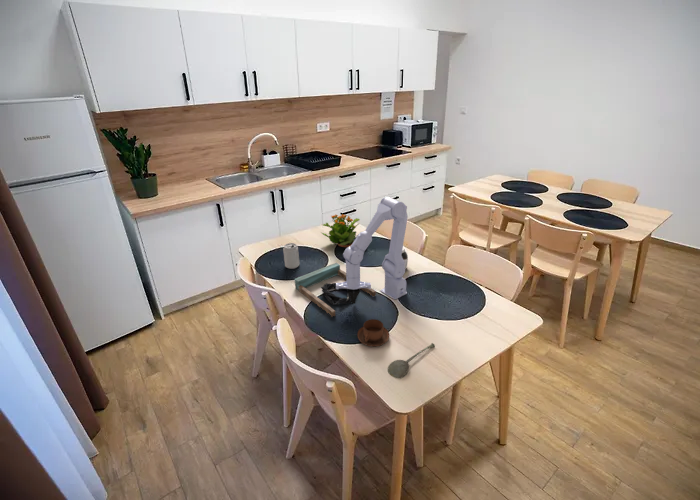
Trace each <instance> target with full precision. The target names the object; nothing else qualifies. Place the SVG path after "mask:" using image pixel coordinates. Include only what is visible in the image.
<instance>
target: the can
mask: <svg viewBox="0 0 700 500" xmlns="http://www.w3.org/2000/svg"><path fill="white" fill-rule="evenodd" d="M282 249H283V250H282V252H283V261H284V267H285V268H287V269H290V270H293V269H296V268H298V267H299V266H300V256H299V254H300V253H299V246H298V245H297V244H296V243H293V242H289V243H286V244H285V245H283V248H282Z"/></svg>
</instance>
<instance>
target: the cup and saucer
mask: <svg viewBox="0 0 700 500" xmlns="http://www.w3.org/2000/svg"><path fill="white" fill-rule="evenodd" d="M356 335H357V339H358V341H359V342H360V343H361V344H363V345H365V346H369V347H379V346H382V345H384V344H386V343H387V342H388V341H389V339H390V332H389V330H388V329H387V328H386V327H385V326H384V323H383V322H382V321H381V320H379V319H375V318H374V319H373V318H370V319H368V320H366V321H364V323H363V326H362V327H360V328H359V329H358V330H357V334H356Z"/></svg>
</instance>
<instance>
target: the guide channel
mask: <svg viewBox="0 0 700 500" xmlns="http://www.w3.org/2000/svg"><path fill="white" fill-rule="evenodd" d="M336 276H340V277H341V278H342V279H344V280H346V271H344V270H342V269H341V264H339V263H338V262H334V263H331V264H329V265H327V266H324V267H322V268H319V269H316V270H314V271H312V272H311V271H310V272H309V273H307V274H303V275H301V276H298V277H297V278H296V277H295V278H294V284H295V285H294V286H295V289H296V290H297V291H299V293H301V294H303V296H305V297H306V298H307V299H308V300H310V301H311V302H312V303H314V304H315V305H316V304H317V306H318V307H319V308H320V307H321V308H322V311H324V310H325V311H326V312H325V311H324V312H325V313H327V314H328V313H329V314H330V315H331V316H330V315H329V314H328V315H329V316H330V317H331V318H333V316H334V317H335V316H336V310H334V308H332V306H330V305H329V304H327V303H326V302H325V301H323V300H321V299H320V298H319V297H317V296H316V295H315V294H314V293H313V292H311V291H310V290H308V288H309V287H311V286H314V285H316V284H319V283H321V282H323V281H326V280H329V279H330V278H333V277H336ZM361 290H362V291H363V292H365V293H366V292H367V294H368V293H369V294H370V295H369V294H368V295H369V296H371V295H372V296H371V297H373V296H374V297H376V296H377V292H376V291H377V290H375V289H374V288H372V287H371V289H368V288H360V291H361ZM375 295H376V296H375ZM321 308H320V309H321Z"/></svg>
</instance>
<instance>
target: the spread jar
mask: <svg viewBox="0 0 700 500" xmlns="http://www.w3.org/2000/svg"><path fill="white" fill-rule="evenodd" d="M387 254H389V252H388V253H387ZM401 256H402V258H403V260H404V262H405V264H404V267H405V270H406V269H407V268H408V262H409V259H408V253H407V251H406V248H405V246H404V245H403V249H402V255H401Z"/></svg>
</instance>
